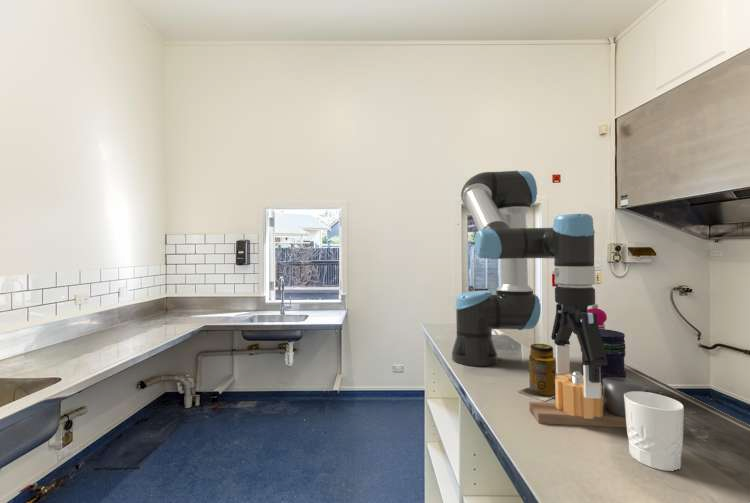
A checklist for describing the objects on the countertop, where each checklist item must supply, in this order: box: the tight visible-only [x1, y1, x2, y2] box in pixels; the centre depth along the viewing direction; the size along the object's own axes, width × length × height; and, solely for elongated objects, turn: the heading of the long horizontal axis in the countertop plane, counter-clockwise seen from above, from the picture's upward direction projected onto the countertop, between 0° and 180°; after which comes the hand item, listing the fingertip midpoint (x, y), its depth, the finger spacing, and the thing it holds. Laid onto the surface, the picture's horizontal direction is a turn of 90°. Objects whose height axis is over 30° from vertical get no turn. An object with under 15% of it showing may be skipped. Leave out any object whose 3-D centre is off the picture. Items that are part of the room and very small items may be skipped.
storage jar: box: [580, 328, 627, 397], centre depth 88 cm, size 10×10×15 cm
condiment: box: [517, 343, 557, 402], centre depth 87 cm, size 7×8×12 cm
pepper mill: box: [587, 303, 608, 329], centre depth 107 cm, size 7×7×20 cm
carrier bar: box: [528, 401, 627, 429], centre depth 72 cm, size 6×22×2 cm, turn 82°
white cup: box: [624, 391, 685, 472], centre depth 57 cm, size 8×8×10 cm
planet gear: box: [555, 373, 603, 419], centre depth 72 cm, size 9×9×6 cm
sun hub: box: [602, 377, 645, 418], centre depth 71 cm, size 7×7×6 cm
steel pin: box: [571, 370, 583, 384], centre depth 72 cm, size 2×2×8 cm
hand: (576, 384), depth 73 cm, fingers open, 13 cm apart
